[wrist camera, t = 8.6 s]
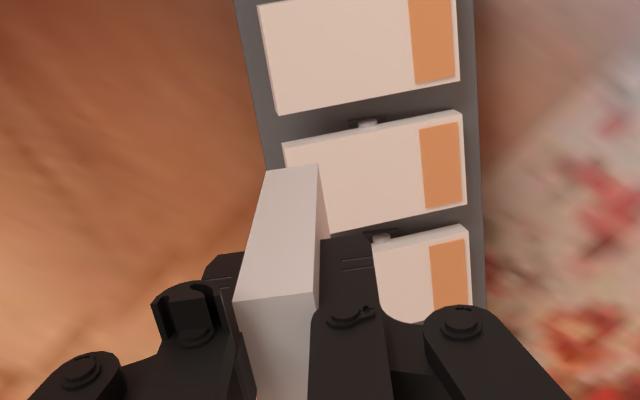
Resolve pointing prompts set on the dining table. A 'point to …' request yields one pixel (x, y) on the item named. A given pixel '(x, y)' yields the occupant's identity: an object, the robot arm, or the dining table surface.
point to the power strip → (383, 110)
